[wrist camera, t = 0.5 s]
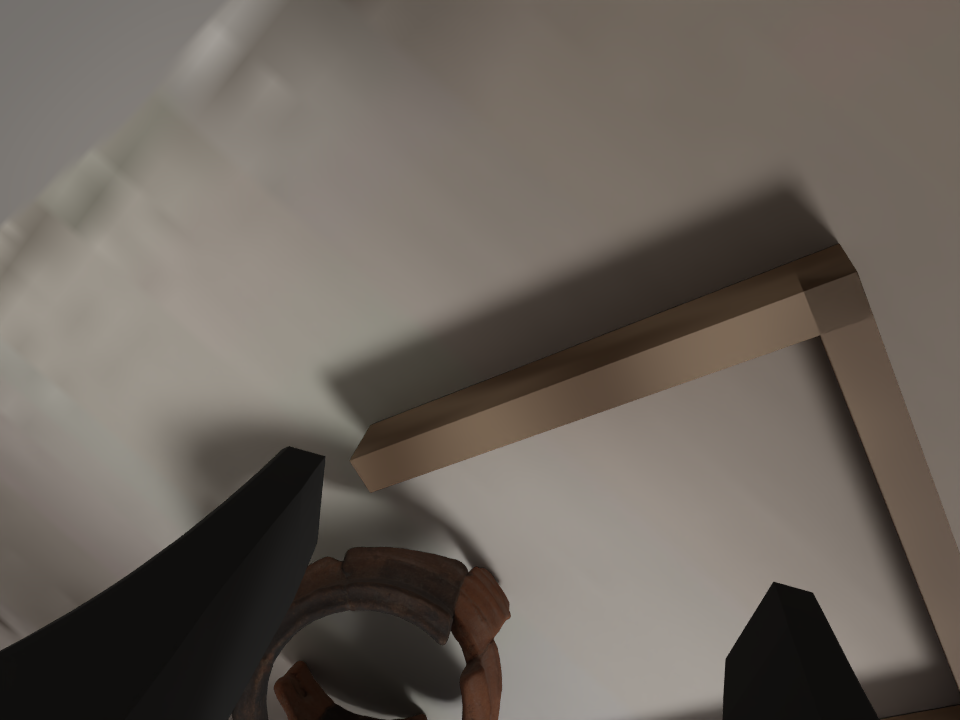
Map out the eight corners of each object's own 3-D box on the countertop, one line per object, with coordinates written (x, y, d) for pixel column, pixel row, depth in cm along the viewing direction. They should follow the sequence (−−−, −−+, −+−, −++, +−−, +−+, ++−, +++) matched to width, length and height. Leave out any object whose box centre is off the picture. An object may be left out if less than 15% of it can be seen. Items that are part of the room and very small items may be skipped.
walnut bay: (602, 792, 31) (599, 843, 29) (370, 425, 25) (349, 460, 24) (1015, 723, 26) (1041, 779, 24) (839, 243, 20) (857, 272, 18)
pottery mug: (228, 619, 31) (133, 700, 23) (416, 459, 31) (388, 483, 23) (430, 865, 31) (407, 1038, 23) (620, 702, 31) (666, 814, 23)
